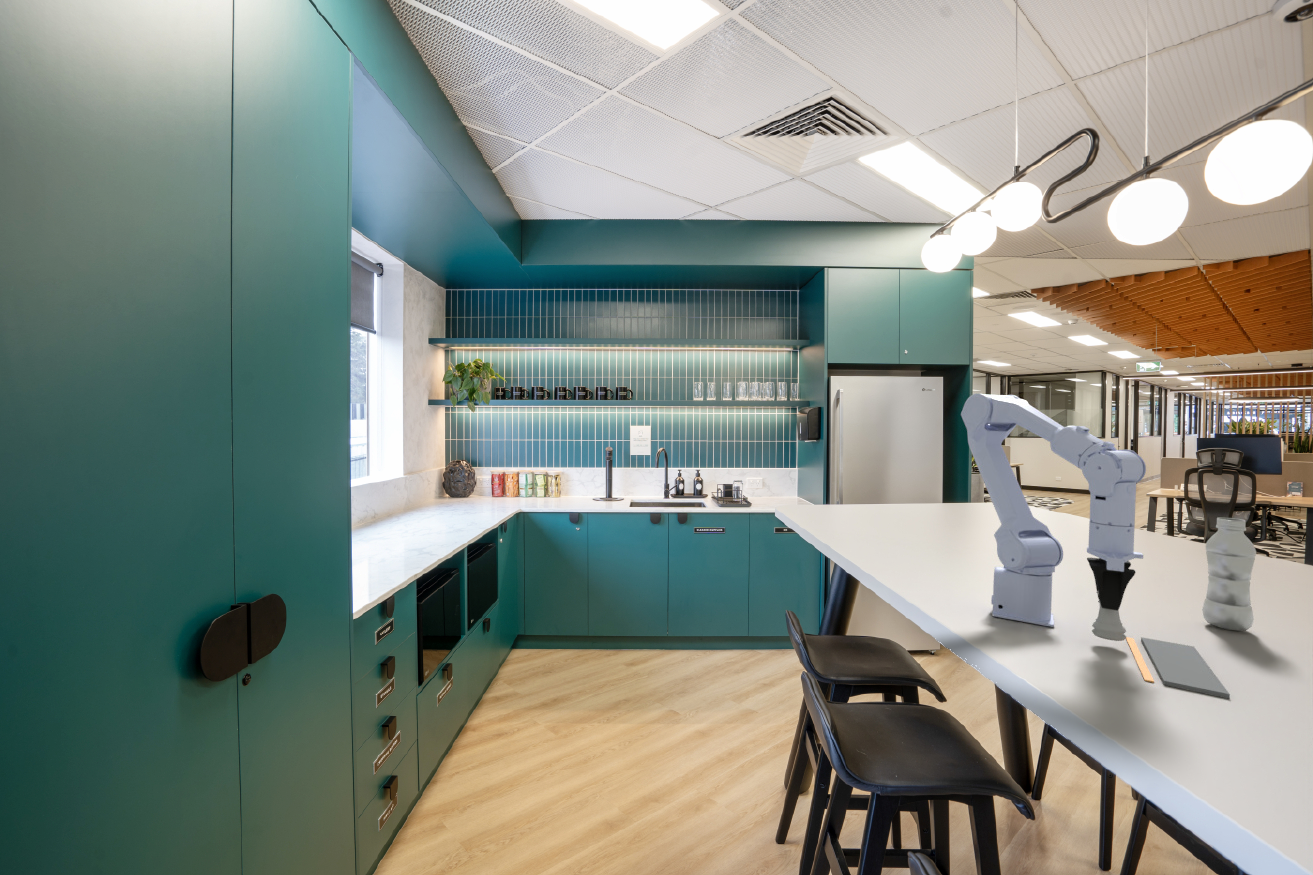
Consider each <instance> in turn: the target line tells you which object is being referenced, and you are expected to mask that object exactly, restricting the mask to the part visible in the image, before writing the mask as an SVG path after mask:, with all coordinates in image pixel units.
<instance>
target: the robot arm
mask: <svg viewBox="0 0 1313 875" xmlns="http://www.w3.org/2000/svg"><path fill="white" fill-rule="evenodd" d="M960 416H961V418H962V421H963V423H964V425H965V426H964V427H965V428H966V431H967V433H966V434H967V443H968V447H969V449H970V452H971V454H972V456H973V459H974V462H975V465H976V466H977V468H978V471H979V474H980V476H981V478H982V481H983V483H984V486H985V488H986V490H987V492H988V496H989V497H990V500H991V502H992V505H993V507H994V510H995V512H996V515H997V517H998V519H999V522H1000V523H1001V524H1000V525H999V527H998V529H997V530H996V531H994V535H993V536H994V538H995V541H996V549H997V550H996V553H997V557H998V559H999V561H1000V563H1001V564H1002V565H1003V566H1002V567H1001V566H995V567H994V568H993V569H994V570H993V571H994V572H993V588H992V589H993V590H992V591H993V592H992V595H991V602H990V603H991V605H992V614H991V615H992V617H996V618H999V619H1006V620H1012V621H1019V622H1022V623H1023V622H1024V623H1028V624H1034V625H1041V626H1045V627H1052V628H1053V627H1055V621H1054V620H1055V619H1054V613H1052V602H1053V601H1052V597H1053V573H1055V572H1056V567H1058V566H1060V564H1061V563H1062V561H1063V559H1064V550H1063V546H1062V544H1061V543H1060V541H1059V540H1058V539H1057V538H1056V537H1055V536H1053V534H1052V533H1051V531H1050V529H1049V527H1048V526H1047V525H1046V524H1044V522H1042V521H1040V520H1038V519H1037V518H1035V517H1034V515H1033V513H1032V511H1031V508H1030V506H1029V504H1028V502H1027V499H1026V497H1025V495H1024V493H1023V491H1022V490H1023V489H1021V486H1020V484H1019V481H1018V479H1017V478H1016V475H1015V473H1014V470H1013V468H1012V466H1011V464H1010V461H1009V460H1008V457H1007V454H1006V452H1005V450H1004V448H1003V446H1002V443H1003V441H1004V440H1005V439H1007V437H1008V436H1010V433H1012V432H1013V430H1014V429H1015V428H1016V426H1019V427H1021V428H1023V429H1025V430H1027V431H1029V432H1030V433H1033V434H1034V435H1036V436H1038V437H1040V438H1042V439H1044V440H1045V441H1047V442H1050V443H1049V444H1050V445H1049V446H1050V450H1051V451H1052V453H1054V454H1056V455H1057V456H1058V457H1060V458H1062V459H1064V460H1065V461H1066V462H1068V463H1070V464H1072V465H1074V466H1075V467H1076V468H1078V469H1080V470H1081V472H1082V474H1083V477H1084V479H1085V480H1086V481H1087V484H1088V491H1089V493H1090V494H1089V498H1090V499H1089V502H1090V503H1089V524H1088V528H1089V529H1088V546H1087V547H1086V552H1087V553H1088V554H1090V555H1092V556H1094V557H1087V558H1086V560H1087V562H1088V565H1089V567H1090V569H1091V571H1092V573H1093V577H1094V583H1095V588H1096V592H1097V591H1098V593H1099V595H1098V594H1097V593H1096V594H1097V598H1098V601H1099V600H1100V603H1099V605H1100V604H1101V607H1102V608H1104V609H1111V610H1117V611H1118V610H1120V607H1121V605H1122V601H1123V598H1124V595H1125V594H1124V593H1125V592H1126V590H1127V587H1128V585H1129V583H1130V581H1131V580H1132V579H1133V578H1134V576H1135V575H1136V570H1135V569H1133V568H1130V567H1131V566H1132V563H1131V562H1130V561H1132V560H1134V559H1140V560H1141V559H1144V554H1143V553H1142V552H1139V551H1134V550H1135V549H1134V548H1135V524H1136V521H1135V520H1136V503H1137V502H1136V500H1137V496H1136V495H1137V484H1138V483H1139V482H1140V481H1141V480H1143V478H1144V477H1145V475H1146V474H1147V473H1146V471H1147V465H1146V462H1145V461H1144V459H1143V458H1142V456H1141V455H1139V454H1137V452H1135V450H1131V449H1117V448H1116V447H1115V443H1113V442H1111V441H1110V440H1108V441H1104V440H1103V439H1101V438H1099V437H1097V436H1095V435H1093V434H1091V433H1090V432H1089V431H1090V428H1088V427H1087V426H1084V425H1067V426H1063V425H1062V424H1060V423H1059V422H1057V421H1055V420H1053V419H1052V418H1051V417H1049V416H1047V415H1046V414H1045V413H1043V412H1042V411H1040V410H1038V409H1037V408H1036V407H1034V406H1032V405H1031V404H1029V401H1027V400H1026V399H1023V398H1020V397H1019V396H1018V395H1014V394H1007V395H1005V394H1004V395H1003V394H999V395H998V394H983V393H974V394H971V395H970V396H969V397H968V398H967V399H966V401H965V402H964V404H963V407H962V411H961V413H960Z"/></svg>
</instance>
